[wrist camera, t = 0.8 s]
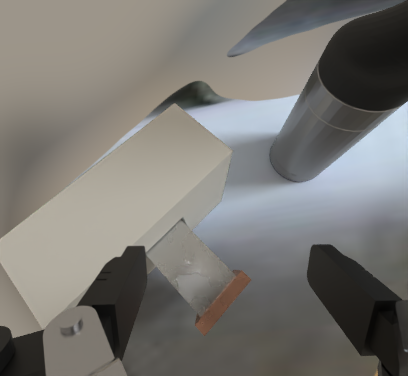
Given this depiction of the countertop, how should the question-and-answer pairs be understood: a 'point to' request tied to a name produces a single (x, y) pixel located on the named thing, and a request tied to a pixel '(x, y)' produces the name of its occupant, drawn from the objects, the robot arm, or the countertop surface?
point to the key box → (116, 211)
